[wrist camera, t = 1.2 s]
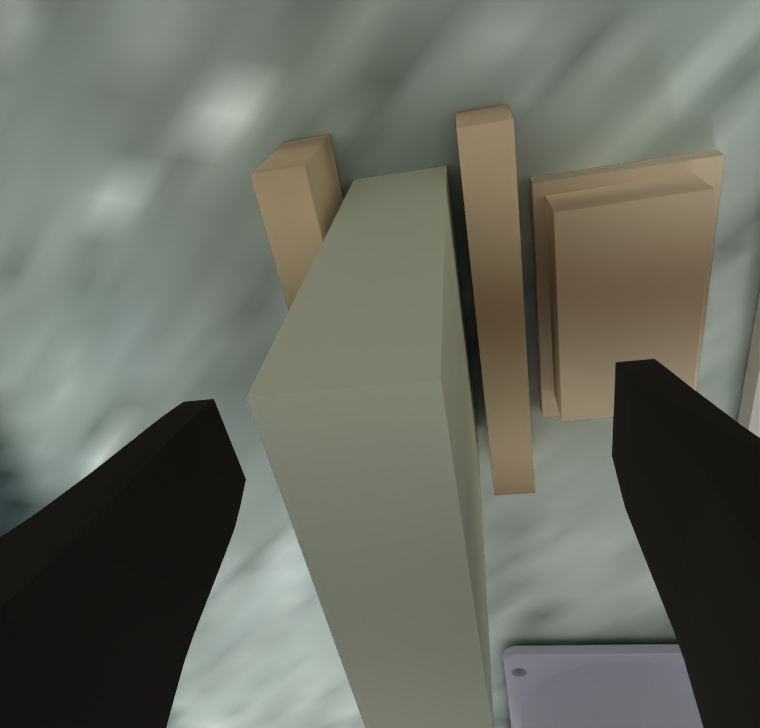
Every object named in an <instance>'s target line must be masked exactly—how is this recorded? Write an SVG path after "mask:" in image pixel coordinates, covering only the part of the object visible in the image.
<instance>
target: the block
mask: <svg viewBox="0 0 760 728" xmlns="http://www.w3.org/2000/svg"><path fill="white" fill-rule="evenodd" d="M246 397H247V400H248V403H249V406H250V409H251V411H252V414H253V417H254V420H255V422H256V425H257V428H258V431H259V434H260V436H261V439H262V442H263V445H264V447H265V450H266V453H267V456H268V459H269V461H270V464H271V467H272V470H273V472H274V475H275V478H276V481H277V484H278V486H279V489H280V492H281V495H282V497H283V500H284V503H285V506H286V509H287V511H288V514H289V517H290V520H291V522H292V525H293V528H294V531H295V534H296V536H297V539H298V542H299V545H300V547H301V550H302V553H303V556H304V559H305V561H306V564H307V567H308V570H309V572H310V575H311V578H312V581H313V583H314V586H315V589H316V592H317V595H318V597H319V600H320V603H321V606H322V608H323V611H324V614H325V617H326V620H327V622H328V625H329V628H330V631H331V633H332V636H333V639H334V642H335V645H336V647H337V650H338V653H339V656H340V658H341V661H342V664H343V667H344V670H345V672H346V675H347V678H348V681H349V683H350V686H351V689H352V692H353V695H354V697H355V700H356V703H357V706H358V708H359V711H360V714H361V717H362V720H363V722H364V725H365V728H494V718H493V700H492V683H491V665H490V647H489V630H488V612H487V595H486V577H485V560H484V542H483V524H482V507H481V489H480V472H479V454H478V437H477V423H476V415H475V406H474V397H473V389H472V380H471V372H470V363H469V354H468V346H467V337H466V328H465V320H464V311H463V303H462V294H461V285H460V277H459V268H458V260H457V251H456V242H455V234H454V225H453V216H452V208H451V199H450V191H449V182H448V173H447V165H446V166H440V167H434V168H427V169H421V170H414V171H408V172H401V173H395V174H388V175H382V176H375V177H369V178H362V179H356V180H353V182H352V184H351V186H350V188H349V190H348V192H347V194H346V196H345V198H344V200H343V202H342V204H341V206H340V208H339V210H338V212H337V214H336V216H335V219H334V221H333V223H332V225H331V227H330V229H329V231H328V233H327V235H326V237H325V239H324V241H323V243H322V245H321V247H320V249H319V251H318V253H317V255H316V257H315V259H314V261H313V263H312V265H311V267H310V269H309V271H308V273H307V275H306V277H305V279H304V281H303V283H302V285H301V287H300V289H299V291H298V293H297V295H296V297H295V299H294V301H293V303H292V305H291V307H290V309H289V312H288V314H287V316H286V318H285V320H284V322H283V324H282V326H281V328H280V330H279V332H278V334H277V336H276V338H275V340H274V342H273V344H272V346H271V348H270V350H269V352H268V354H267V356H266V358H265V360H264V362H263V364H262V366H261V368H260V370H259V372H258V374H257V376H256V378H255V380H254V382H253V384H252V386H251V388H250V390H249V392H248V394H247V396H246Z"/></svg>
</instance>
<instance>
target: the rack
mask: <svg viewBox="0 0 760 728" xmlns="http://www.w3.org/2000/svg"><path fill="white" fill-rule="evenodd" d="M456 130H457V140H458V149H459V159H460V168H461V178H462V188H463V197H464V207H465V216H466V226H467V235H468V245H469V255H470V264H471V274H472V283H473V293H474V303H475V312H476V322H477V331H478V341H479V351H480V360H481V370H482V379H483V389H484V398H485V408H486V418H487V427H488V437H489V446H490V456H491V466H492V475H493V485H494V494H495V495H508V494H526V493H535V490H534V472H533V454H532V436H531V418H530V401H529V383H528V365H527V347H526V329H525V311H524V293H523V276H522V258H521V240H520V222H519V204H518V186H517V168H516V151H515V133H514V119H513V116H512V114H511V112H510V110H509V108H508V105H507V104H506V105H500V106H494V107H488V108H482V109H476V110H470V111H464V112H459V113H456ZM250 177H251V180H252V184H253V187H254V191H255V194H256V198H257V201H258V205H259V208H260V212H261V215H262V219H263V222H264V226H265V229H266V233H267V236H268V240H269V243H270V247H271V250H272V254H273V257H274V260H275V264H276V267H277V271H278V274H279V278H280V281H281V285H282V288H283V292H284V295H285V299H286V302H287V306H288V309H290V307H291V305H292V303H293V301H294V299H295V297H296V295H297V293H298V291H299V289H300V287H301V285H302V283H303V281H304V279H305V277H306V275H307V273H308V271H309V269H310V267H311V265H312V263H313V261H314V259H315V257H316V255H317V253H318V251H319V249H320V247H321V245H322V243H323V241H324V239H325V237H326V235H327V233H328V231H329V229H330V227H331V225H332V223H333V221H334V219H335V216H336V214H337V212H338V210H339V208H340V206H341V204H342V202H343V196H342V191H341V186H340V181H339V177H338V172H337V167H336V162H335V158H334V153H333V148H332V143H331V139H330V134H329V135H323V136H317V137H311V138H305V139H299V140H293V141H288V142H283V143H282V144H281V145H280V146H279V147H278V148H277V149H276V150H275V151H274V152H273V153H272V154H271V155H270V156H269V157H268V158H267V159H265V160H264V161H263V162H262V163H261V164H260V165H259V166H258V167H257V168H256V169H255V170H254V171H253V172H252V173H251V174H250Z"/></svg>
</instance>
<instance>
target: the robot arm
mask: <svg viewBox="0 0 760 728" xmlns="http://www.w3.org/2000/svg"><path fill="white" fill-rule="evenodd" d="M612 457H613V461H614V465H615V469H616V474H617V478H618V482H619V486H620V489H621V493H622V497H623V501H624V505H625V508H626V511H627V513H628V516H629V519H630V521H631V524H632V526H633V529H634V532H635V534H636V537H637V539H638V542H639V544H640V547H641V549H642V552H643V554H644V557H645V559H646V562H647V564H648V567H649V570H650V572H651V575H652V577H653V580H654V582H655V585H656V587H657V590H658V592H659V595H660V597H661V600H662V602H663V605H664V607H665V610H666V612H667V615H668V617H669V620H670V622H671V625H672V627H673V630H674V633H675V636H676V639H677V641H678V644H633V645H540V646H511V647H509V648H507V649H506V650H505V651H504V653H503V661H504V670H505V678H506V687H507V696H508V704H509V713H510V721H511V728H760V438H759V437H758V436H756V435H755V434H753V433H752V432H751V431H749V430H748V429H746V428H745V427H744V426H742V425H741V424H739V423H738V422H737V421H735V420H734V419H732V418H731V417H730V416H728V415H727V414H726V413H724V412H723V411H722V410H720V409H719V408H718V407H716V406H715V405H714V404H712V403H711V402H710V401H708V400H707V399H706V398H704V397H703V396H702V395H700V394H699V393H698V392H697V391H695V390H694V389H693V388H691V387H690V386H689V385H688V384H686V383H685V382H684V381H683V380H681V379H680V378H679V377H677V376H676V375H675V374H674V373H672V372H671V371H670V370H669V369H667V368H666V367H665V366H663V365H662V364H661V363H660V362H658V361H657V360H656V359H645V360H634V361H623V362H615V390H614V417H613V444H612ZM245 481H246V479H245V476H244V474H243V471H242V469H241V466H240V464H239V461H238V459H237V456H236V454H235V451H234V449H233V446H232V444H231V441H230V439H229V436H228V434H227V431H226V429H225V426H224V424H223V421H222V419H221V416H220V413H219V411H218V408H217V406H216V403H215V401H214V399H209V400H198V401H187V402H183V403H181V404H180V405H178V406H177V407H175V408H174V409H172V410H171V411H170V412H168V413H167V414H166V415H164V416H163V417H161V418H160V419H159V420H158V421H156V422H155V423H154V424H152V425H151V426H150V427H149V428H147V429H146V430H145V431H143V432H142V433H141V434H140V435H138V436H137V437H136V438H135V439H133V440H132V441H131V442H130V443H128V444H127V445H126V446H125V447H123V448H122V449H121V450H120V451H118V452H117V453H116V454H114V455H113V456H112V457H111V458H109V459H108V460H107V461H106V462H104V463H103V464H102V465H101V466H99V467H98V468H97V469H95V470H94V471H93V472H92V473H90V474H89V475H88V476H86V477H85V478H84V479H82V480H81V481H79V482H78V483H77V484H75V485H74V486H73V487H71V488H70V489H69V490H67V491H66V492H65V493H63V494H62V495H61V496H59V497H58V498H57V499H55V500H54V501H52V502H51V503H50V504H48V505H47V506H46V507H44V508H43V509H42V510H40V511H39V512H37V513H36V514H34V515H33V516H32V517H30V518H29V519H27V520H26V521H24V522H23V523H21V524H20V525H18V526H17V527H15V528H14V529H12V530H11V531H9V532H8V533H6V534H5V535H3V536H1V537H0V728H166V727H167V723H168V719H169V715H170V711H171V708H172V704H173V700H174V697H175V693H176V690H177V686H178V682H179V679H180V675H181V671H182V668H183V664H184V661H185V658H186V655H187V652H188V649H189V646H190V644H191V641H192V638H193V635H194V632H195V630H196V627H197V625H198V622H199V620H200V617H201V614H202V612H203V609H204V607H205V604H206V602H207V599H208V597H209V594H210V591H211V589H212V586H213V584H214V581H215V579H216V576H217V573H218V571H219V568H220V566H221V563H222V560H223V558H224V555H225V553H226V550H227V547H228V545H229V542H230V539H231V537H232V534H233V531H234V528H235V525H236V521H237V517H238V513H239V509H240V505H241V500H242V495H243V490H244V486H245Z"/></svg>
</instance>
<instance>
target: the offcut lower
mask: <svg viewBox="0 0 760 728" xmlns="http://www.w3.org/2000/svg"><path fill="white" fill-rule="evenodd" d="M724 160H725V155H724V154H723V153H721V152H720V151H718V150H711V151H704V152H697V153H691V154H684V155H677V156H670V157H664V158H657V159H650V160H644V161H637V162H630V163H623V164H617V165H610V166H603V167H596V168H590V169H583V170H576V171H569V172H563V173H556V174H549V175H542V176H536V177H530V188H531V210H532V232H533V254H534V276H535V297H536V319H537V341H538V363H539V385H540V406H541V412H542V417H543V418H550V417H560V413H559V410H558V406H557V403H556V399H555V395H554V377H553V355H552V332H551V310H550V288H549V265H548V243H547V220H546V198H545V196H546V195H552V194H558V193H565V192H571V191H577V190H584V189H590V188H596V187H603V186H609V185H615V184H622V183H628V182H634V181H641V180H647V179H653V178H660V177H666V176H673V175H679V174H686V173H692V172H693V173H694V174H695V175H697V176H698V177H699V178H701V179H702V180H703V181H705V182H706V183H707V184H709V185H710V186H711V187H713V188H714V196H713V205H712V215H711V225H710V234H709V244H708V254H707V263H706V273H705V282H704V292H703V302H702V311H701V321H700V331H699V340H698V350H697V360H696V369H695V379H694V390H695V391H697V383H698V375H699V367H700V358H701V350H702V342H703V334H704V325H705V317H706V309H707V301H708V292H709V284H710V276H711V268H712V259H713V251H714V243H715V235H716V226H717V218H718V210H719V202H720V193H721V185H722V177H723V169H724Z"/></svg>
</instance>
